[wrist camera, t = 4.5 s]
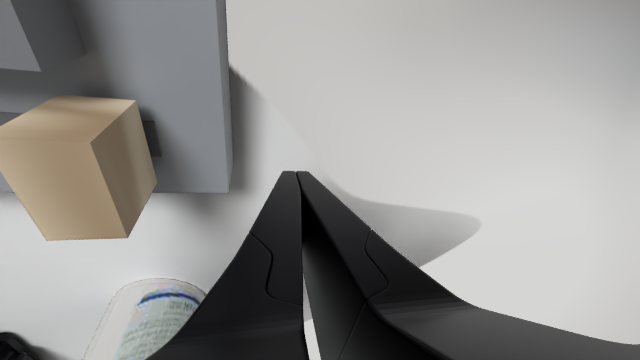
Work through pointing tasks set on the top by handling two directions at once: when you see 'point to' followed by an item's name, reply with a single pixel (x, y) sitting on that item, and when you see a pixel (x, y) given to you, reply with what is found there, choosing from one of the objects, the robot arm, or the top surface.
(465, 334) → the robot arm
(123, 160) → the slider knob
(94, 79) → the control panel
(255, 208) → the top surface
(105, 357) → the spray can
